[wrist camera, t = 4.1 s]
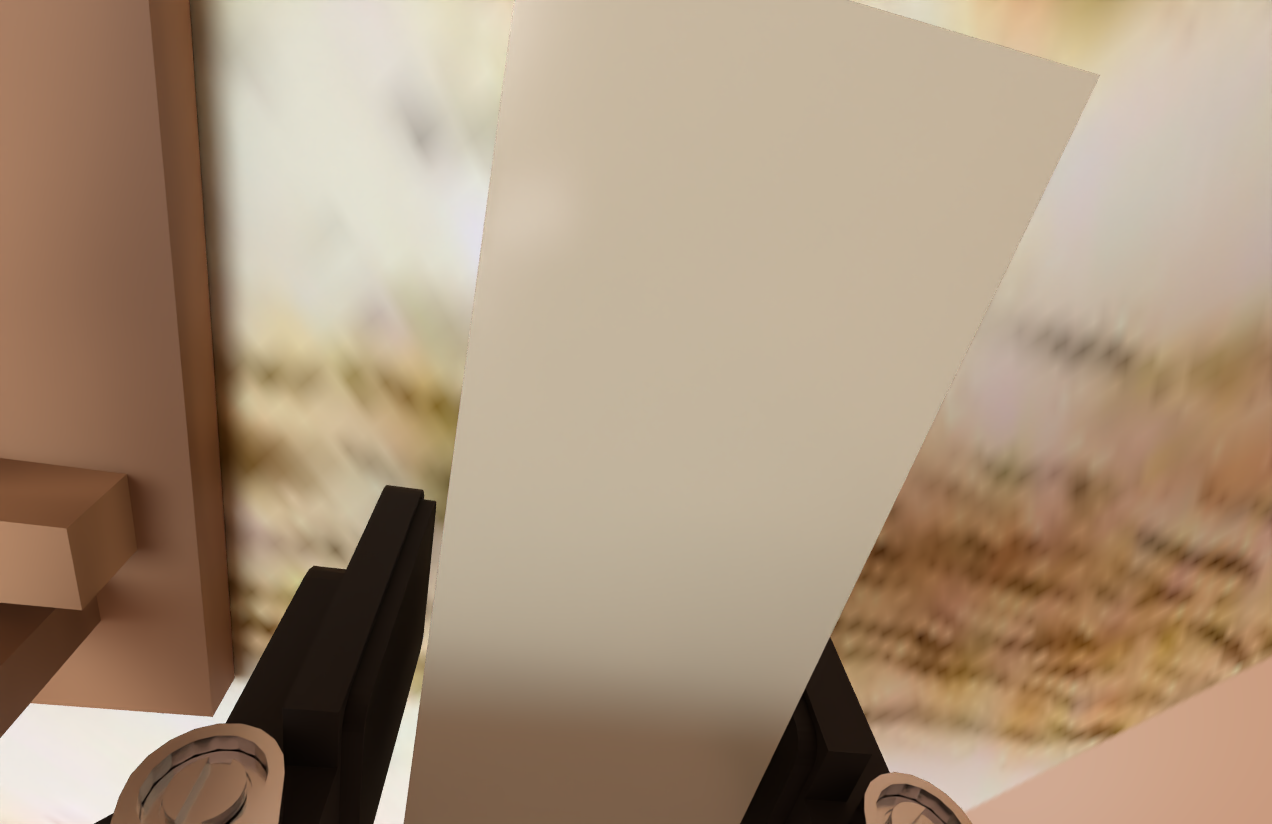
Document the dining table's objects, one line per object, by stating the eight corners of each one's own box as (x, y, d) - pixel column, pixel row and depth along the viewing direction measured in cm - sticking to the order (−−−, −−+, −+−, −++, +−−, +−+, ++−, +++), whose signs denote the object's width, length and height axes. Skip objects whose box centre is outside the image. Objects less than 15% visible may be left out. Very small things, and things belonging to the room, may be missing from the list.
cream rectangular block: (560, 6, 10) (527, -95, 4) (787, 68, 10) (1097, 74, 4) (442, 744, 17) (360, 1150, 10) (582, 756, 17) (584, 1148, 11)
